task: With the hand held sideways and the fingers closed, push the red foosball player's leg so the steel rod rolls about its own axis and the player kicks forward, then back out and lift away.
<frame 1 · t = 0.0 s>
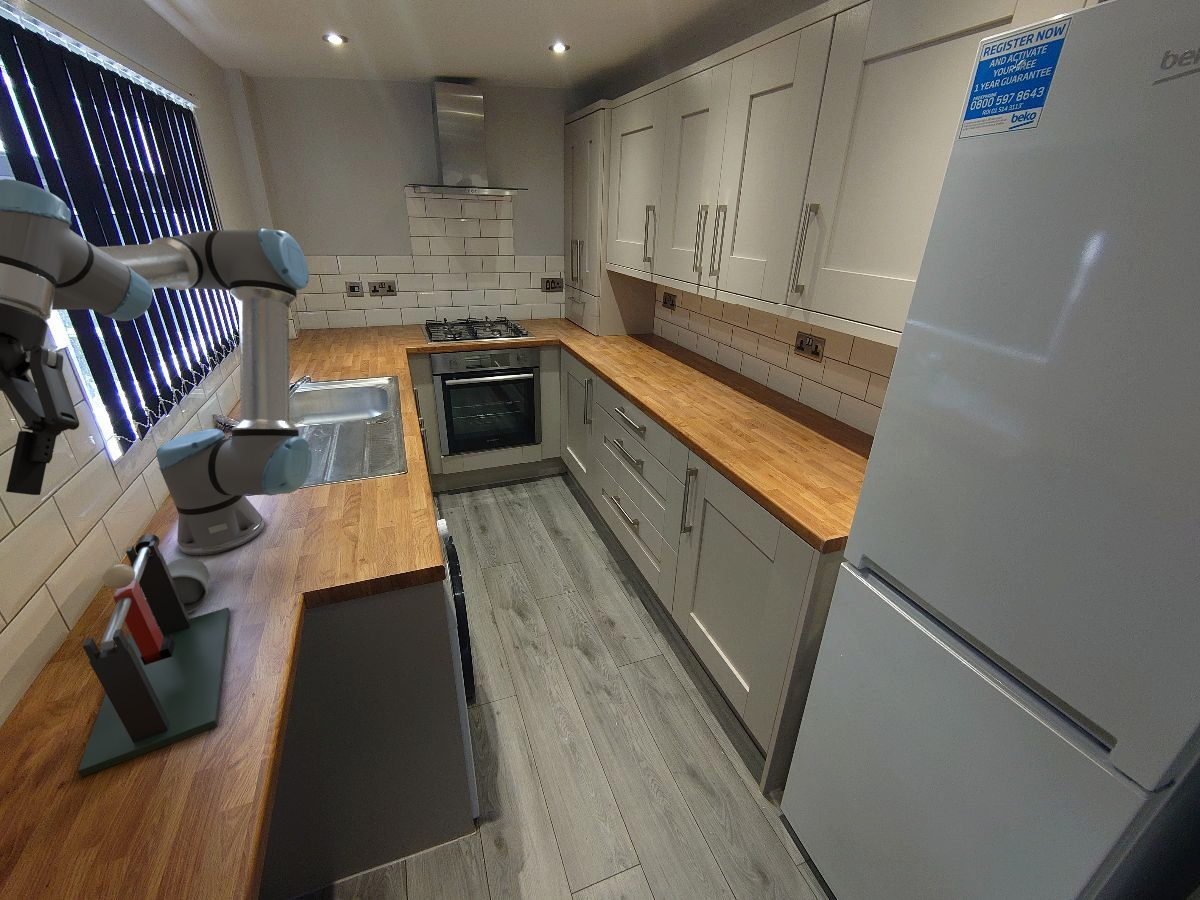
foosball rod: (141, 604, 74), point 13 cm above the countertop, hinge at 0.0°
ceramic mug: (180, 605, 93), on the countertop
foosball frame: (168, 680, 78), on the countertop
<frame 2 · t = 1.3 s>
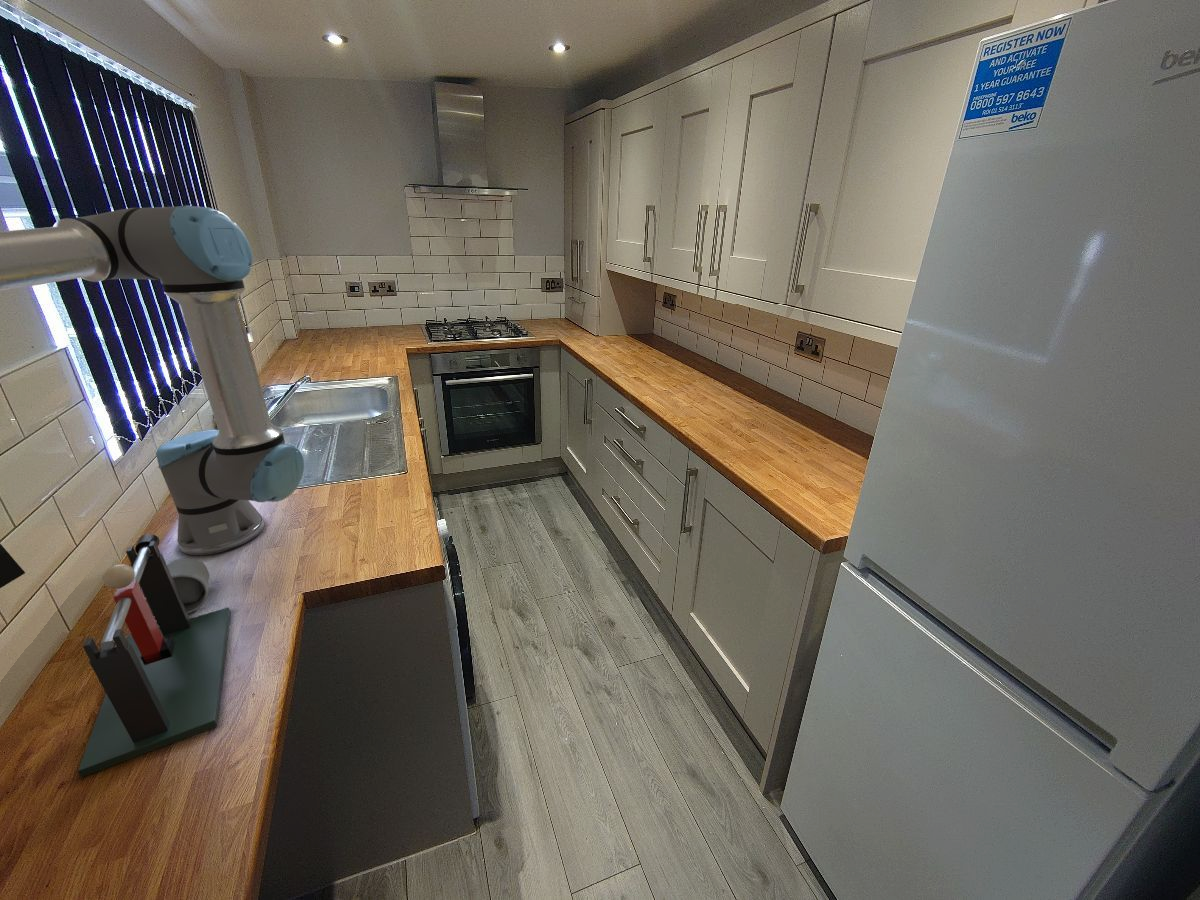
nothing on the countertop moved.
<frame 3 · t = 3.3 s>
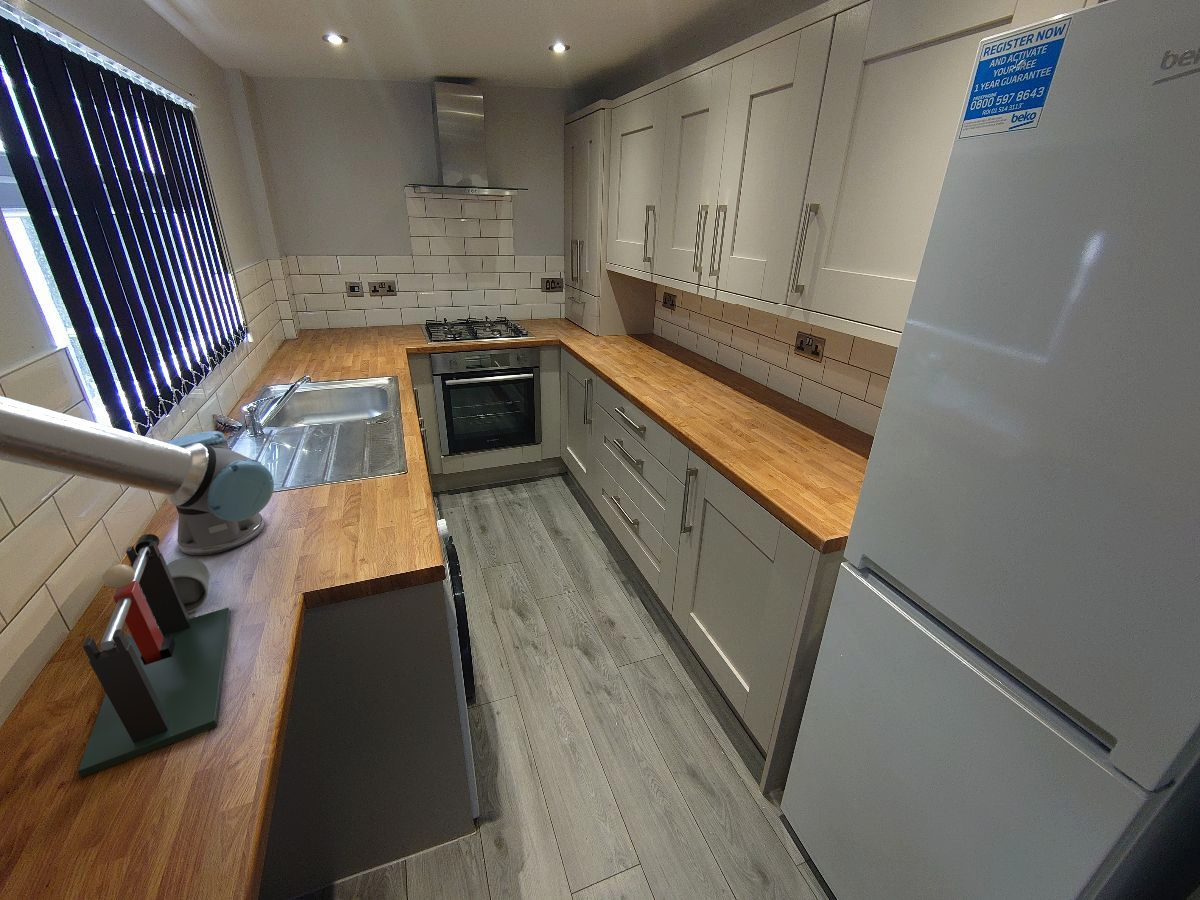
nothing on the countertop moved.
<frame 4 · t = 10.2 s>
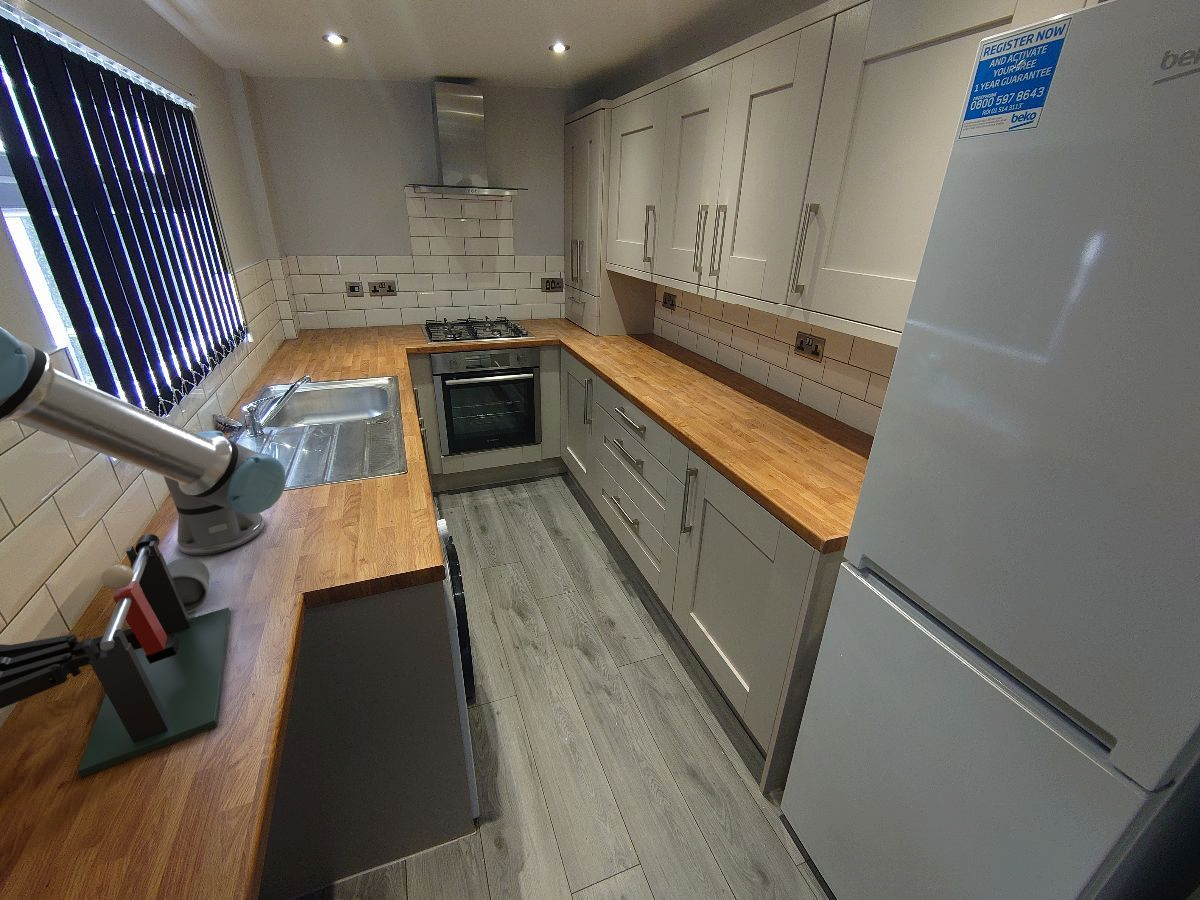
hand: (138, 637, 74), 9 cm above the countertop, tool horizontal, fingers closed
foosball rod: (142, 603, 74), point 13 cm above the countertop, hinge at 3.2°, touching gripper
everything else where it was.
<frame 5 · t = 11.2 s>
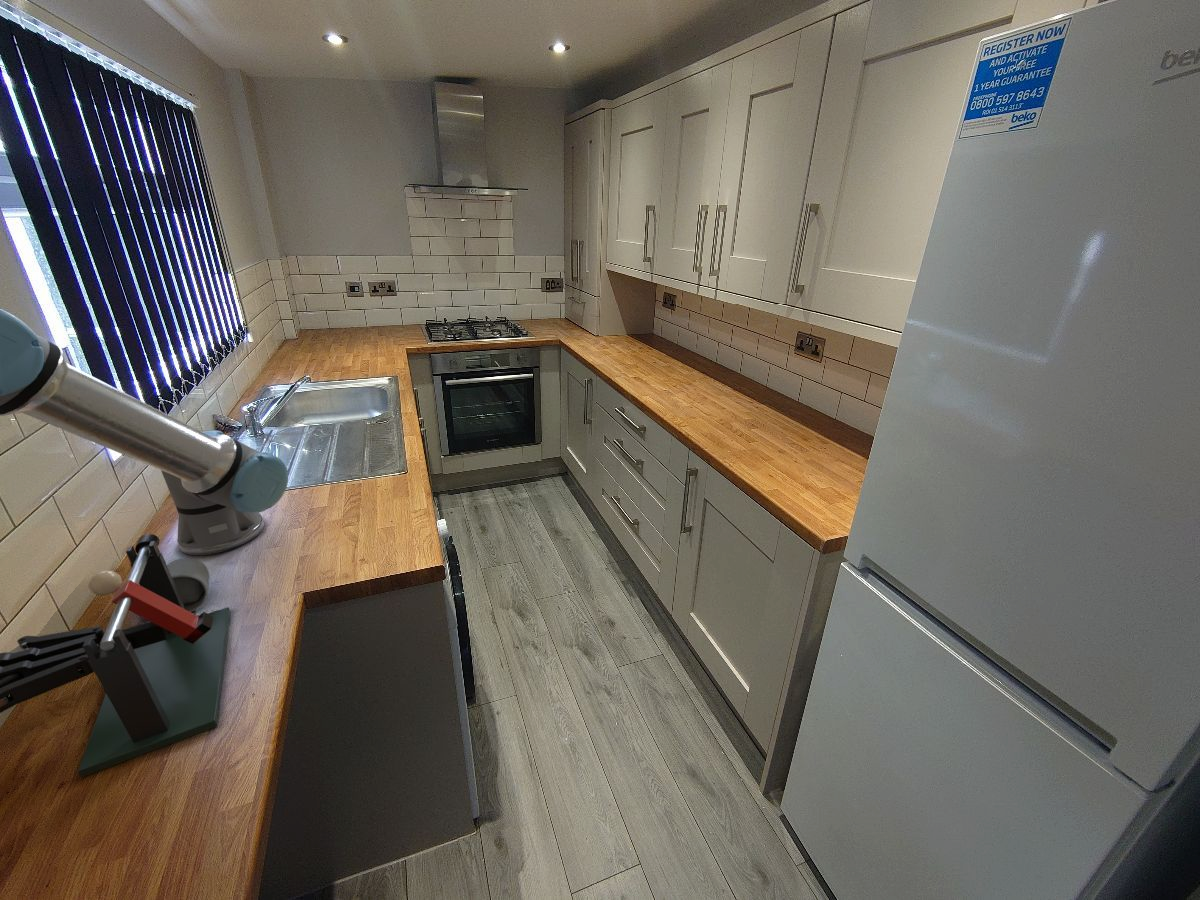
hand: (163, 629, 75), 9 cm above the countertop, tool horizontal, fingers closed
foosball rod: (154, 596, 75), point 13 cm above the countertop, hinge at 31.4°, touching gripper
everything else where it was.
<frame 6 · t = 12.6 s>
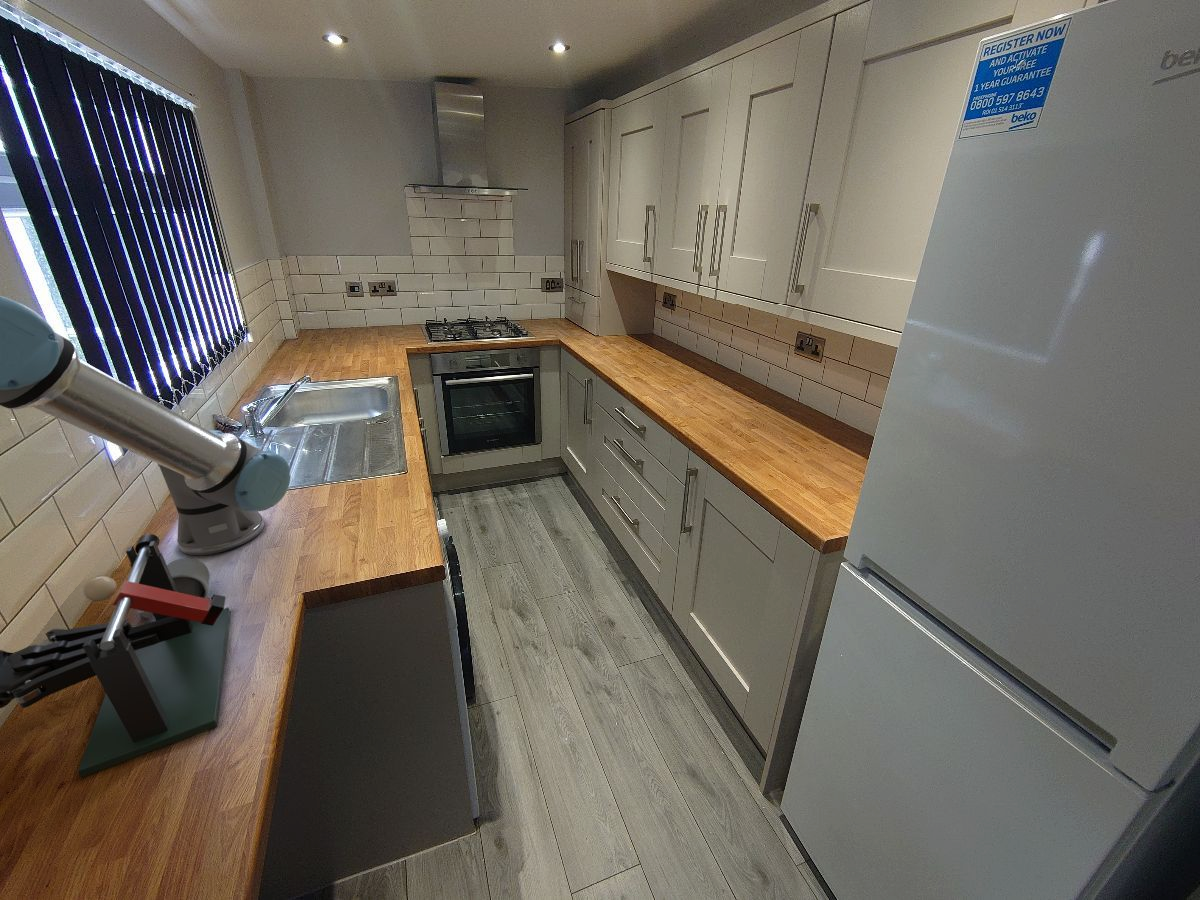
hand: (189, 622, 76), 9 cm above the countertop, tool horizontal, fingers closed
foosball rod: (159, 591, 75), point 14 cm above the countertop, hinge at 50.2°, touching gripper
everything else where it was.
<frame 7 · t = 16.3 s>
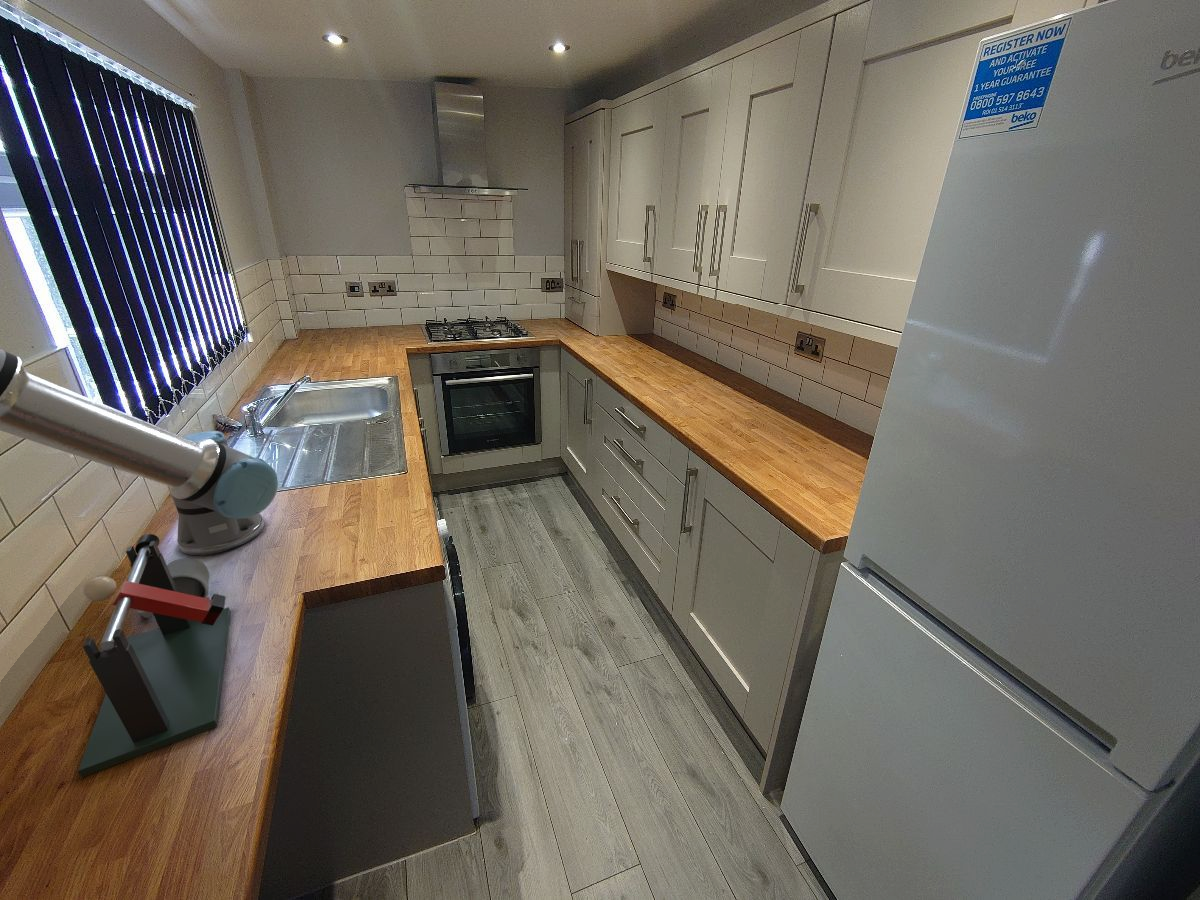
foosball rod: (159, 590, 75), point 14 cm above the countertop, hinge at 50.4°
everything else where it was.
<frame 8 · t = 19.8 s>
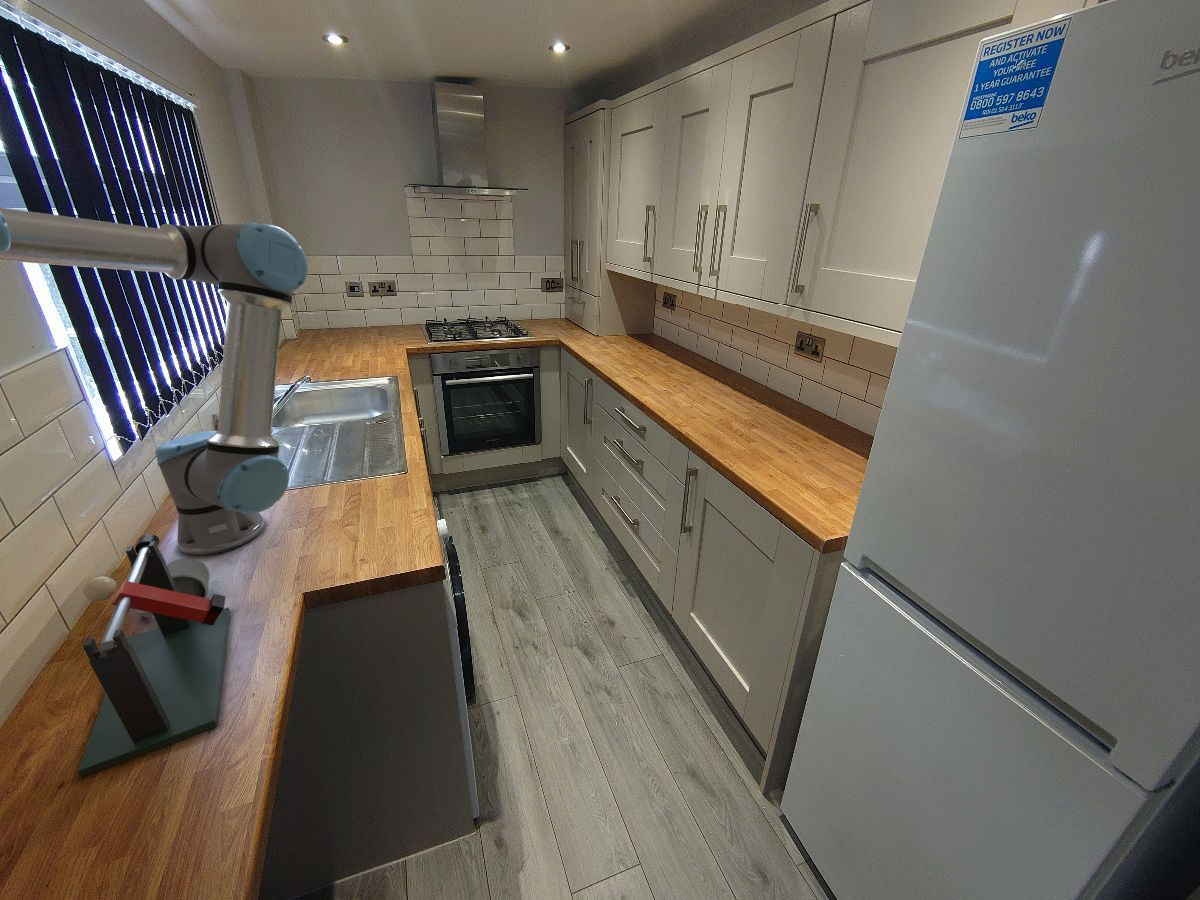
nothing on the countertop moved.
at the end: foosball rod reached +50° during the clip, +50° at the end; foosball rod at +50° (first picture: +0°) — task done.
